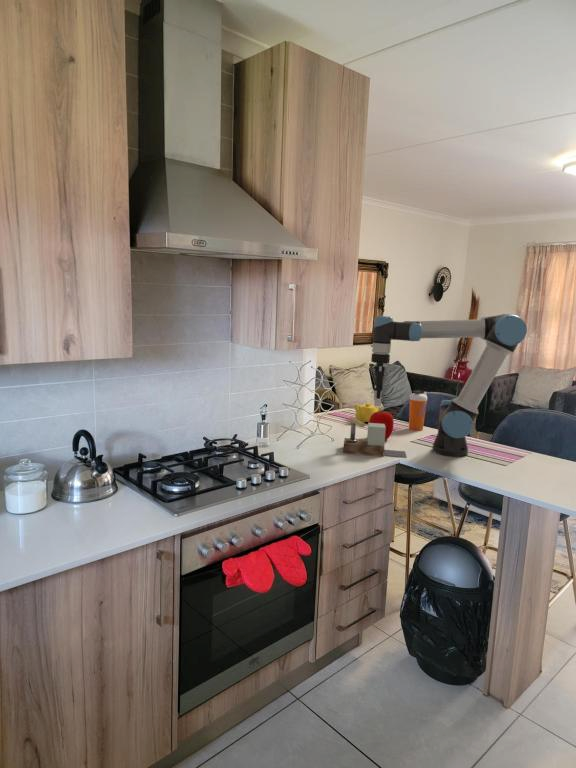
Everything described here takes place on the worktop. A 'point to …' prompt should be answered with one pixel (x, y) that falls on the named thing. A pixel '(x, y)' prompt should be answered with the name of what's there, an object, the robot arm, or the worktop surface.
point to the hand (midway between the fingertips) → (377, 403)
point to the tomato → (383, 421)
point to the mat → (395, 453)
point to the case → (362, 448)
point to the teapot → (365, 412)
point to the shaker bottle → (417, 410)
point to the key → (353, 427)
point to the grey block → (376, 434)
